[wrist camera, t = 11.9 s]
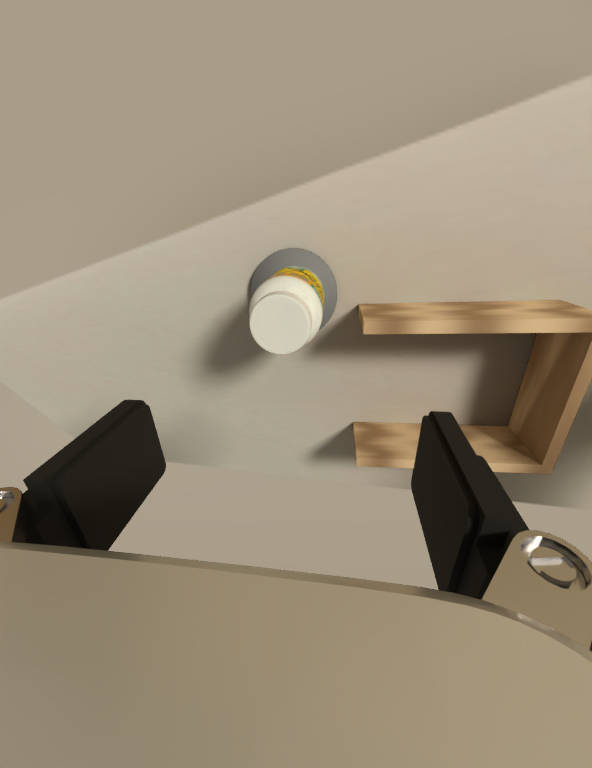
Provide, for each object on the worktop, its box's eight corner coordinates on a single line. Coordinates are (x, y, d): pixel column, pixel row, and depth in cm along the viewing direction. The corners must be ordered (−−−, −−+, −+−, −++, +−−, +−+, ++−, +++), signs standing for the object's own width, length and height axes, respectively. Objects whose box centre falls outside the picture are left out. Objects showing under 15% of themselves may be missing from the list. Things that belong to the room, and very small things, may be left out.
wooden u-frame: (560, 300, 26) (616, 318, 21) (515, 434, 33) (550, 474, 27) (358, 304, 28) (364, 321, 23) (352, 429, 35) (356, 465, 29)
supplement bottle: (255, 295, 29) (221, 323, 20) (295, 251, 26) (276, 261, 18) (296, 336, 30) (280, 378, 21) (337, 297, 28) (338, 327, 19)
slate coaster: (337, 246, 27) (337, 246, 26) (336, 335, 30) (336, 337, 30) (247, 249, 27) (245, 250, 27) (256, 336, 31) (255, 338, 30)
